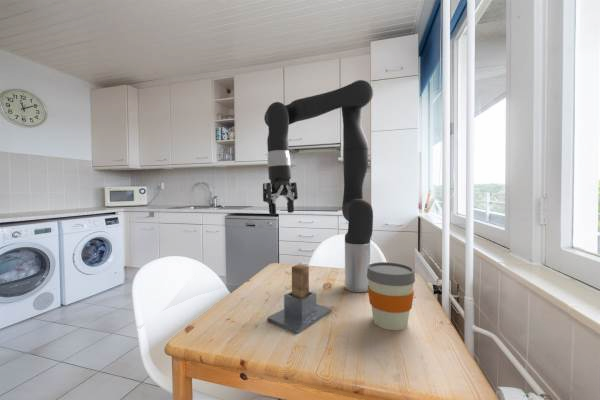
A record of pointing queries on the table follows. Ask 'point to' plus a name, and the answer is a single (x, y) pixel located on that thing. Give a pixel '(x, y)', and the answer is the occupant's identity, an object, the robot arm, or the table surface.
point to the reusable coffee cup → (390, 294)
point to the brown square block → (300, 281)
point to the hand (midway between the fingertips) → (282, 213)
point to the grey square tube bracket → (299, 313)
